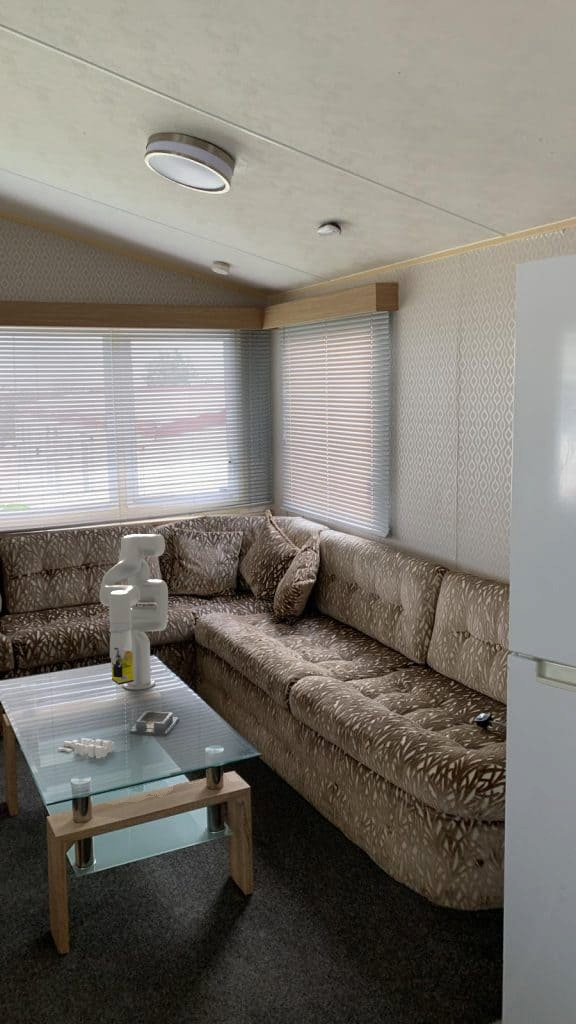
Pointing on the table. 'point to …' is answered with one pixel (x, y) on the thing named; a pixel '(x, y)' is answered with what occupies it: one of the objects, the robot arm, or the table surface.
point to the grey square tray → (154, 723)
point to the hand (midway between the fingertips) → (122, 672)
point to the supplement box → (125, 669)
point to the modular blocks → (90, 747)
